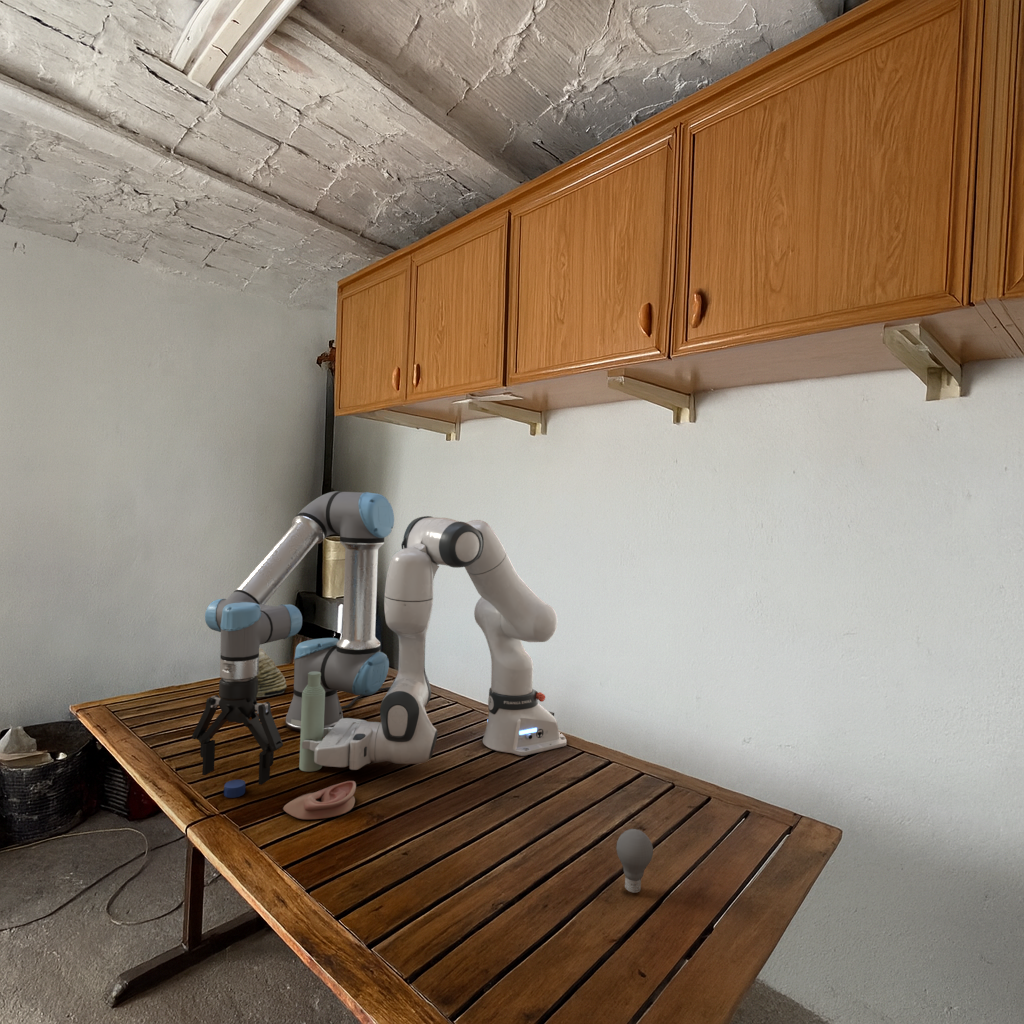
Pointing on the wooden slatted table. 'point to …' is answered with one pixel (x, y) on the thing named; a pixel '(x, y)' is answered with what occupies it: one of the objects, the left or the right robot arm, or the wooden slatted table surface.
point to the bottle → (311, 720)
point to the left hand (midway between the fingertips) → (235, 777)
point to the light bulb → (634, 857)
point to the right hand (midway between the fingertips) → (308, 738)
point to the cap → (234, 788)
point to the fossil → (269, 677)
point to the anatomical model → (323, 802)
